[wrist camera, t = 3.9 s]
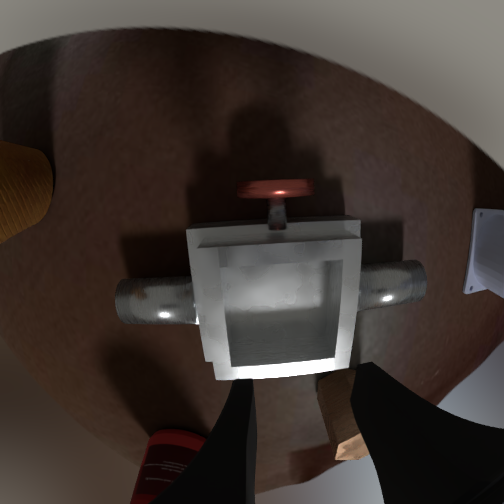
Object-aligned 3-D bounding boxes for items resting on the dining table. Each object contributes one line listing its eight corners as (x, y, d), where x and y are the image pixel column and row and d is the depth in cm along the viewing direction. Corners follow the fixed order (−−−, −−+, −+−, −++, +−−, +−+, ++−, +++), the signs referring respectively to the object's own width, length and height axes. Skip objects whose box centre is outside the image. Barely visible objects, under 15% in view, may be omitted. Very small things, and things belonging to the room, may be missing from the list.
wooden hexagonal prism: (363, 361, 20) (396, 419, 13) (357, 397, 21) (381, 452, 15) (318, 371, 20) (340, 435, 13) (316, 406, 21) (333, 466, 15)
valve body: (410, 180, 16) (450, 184, 12) (396, 325, 19) (423, 355, 15) (118, 194, 16) (81, 201, 12) (146, 344, 19) (127, 381, 15)
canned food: (188, 467, 24) (177, 538, 14) (136, 436, 23) (111, 512, 12) (234, 452, 23) (233, 536, 13) (179, 418, 22) (159, 514, 11)
